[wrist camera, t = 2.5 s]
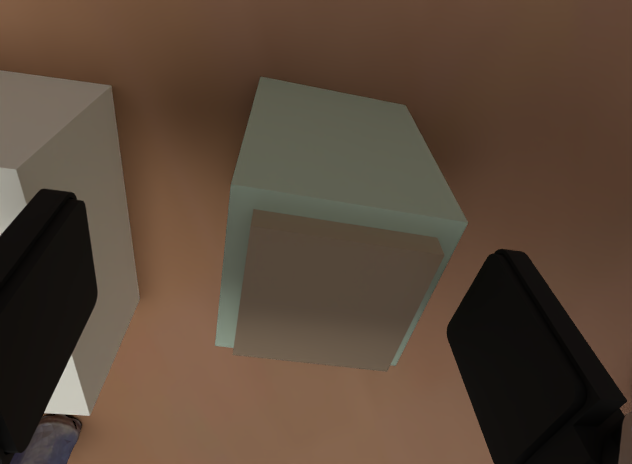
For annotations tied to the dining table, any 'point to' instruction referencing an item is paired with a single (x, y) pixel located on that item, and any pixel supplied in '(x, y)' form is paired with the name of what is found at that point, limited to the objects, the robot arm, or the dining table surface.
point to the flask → (50, 441)
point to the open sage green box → (332, 230)
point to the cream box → (89, 186)
